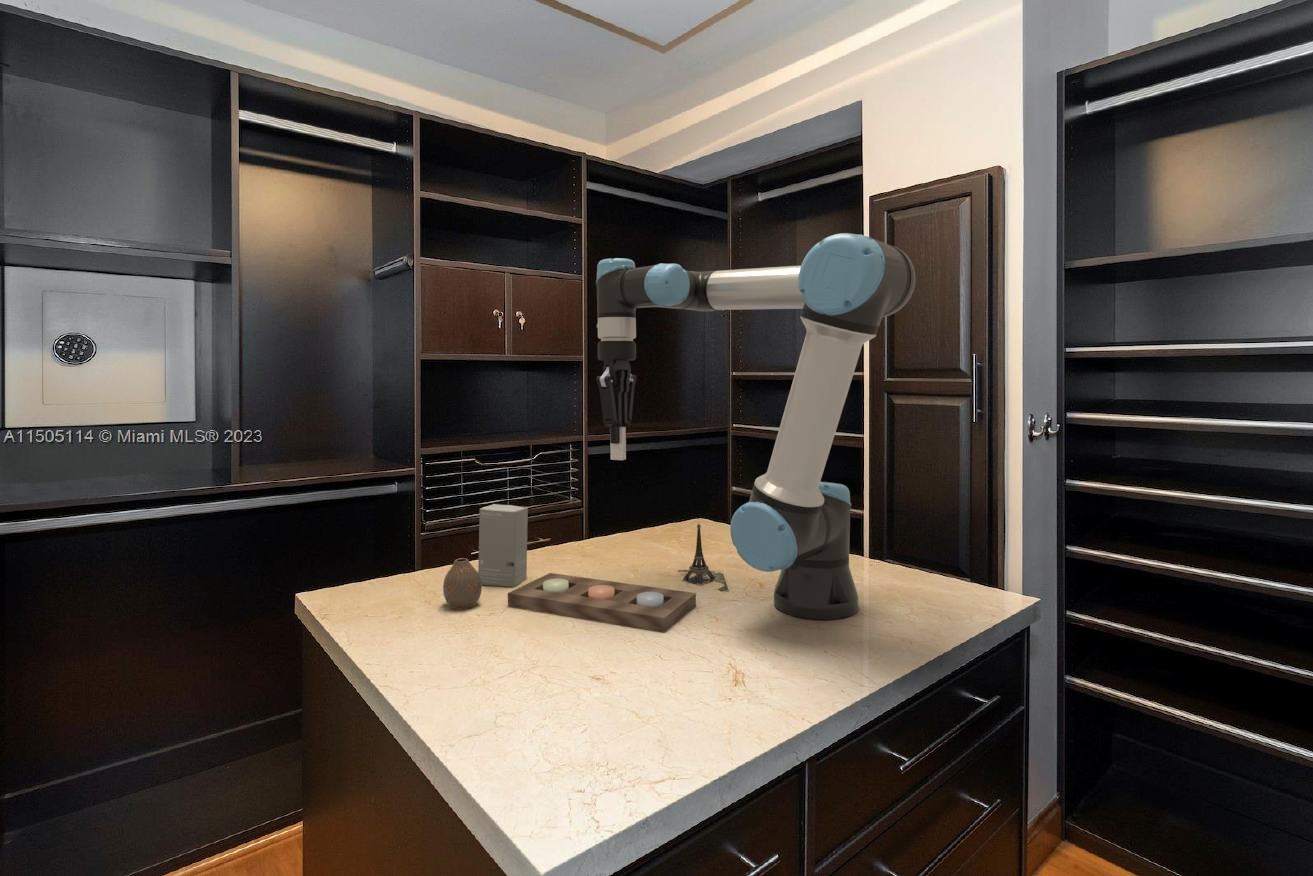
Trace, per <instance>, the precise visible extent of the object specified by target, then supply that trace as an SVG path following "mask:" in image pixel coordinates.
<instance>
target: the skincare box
mask: <svg viewBox="0 0 1313 876" xmlns="http://www.w3.org/2000/svg"><path fill="white" fill-rule="evenodd" d="M528 513H529V507H528V506H518V505H513V504H497V503H492V504H490V505H487V506H483V507H481V508H479V520H478V521H479V522H478V523H479V524H478V525H479V527H478V529H479V530H478V568H477V569H478V571H477V572H478V574H479V576H480V579H481V584H482V586H494V587H510V588H515V587H516V586H518V585H520V584H521V583H523V582H524V581H525V580H527V569H528V519H529V518H528V517H529V516H528Z"/></svg>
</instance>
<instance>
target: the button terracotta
mask: <svg viewBox="0 0 1313 876" xmlns="http://www.w3.org/2000/svg"><path fill="white" fill-rule="evenodd" d="M588 597H590V598H597V599H603V600H609V599H610V598H612V597H614V587H612V586H609V585H597V586H592V587H590V588H589V589H588Z"/></svg>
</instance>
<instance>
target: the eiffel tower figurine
mask: <svg viewBox="0 0 1313 876" xmlns="http://www.w3.org/2000/svg"><path fill="white" fill-rule="evenodd" d="M701 526H702V525H701V524H700V523H698V524H697V525H696V529H697V530H696V531H697V532H696V546H695V553H694V557H693V561H692V564H691V566H689V569H677V572H679V573H681V572H684V573H686V574H685V576H684V577H683V578H682V579H681V582H684V583H688V584H692V585H696V586H699V587H702V586H705V585H707V584H710V583H713V582H716V583H720V584H721V585H722V587H718V588H716V590H718V591H719V592H729V588H728V585H727V581H726V577H725V575H724V573H721V572H718V573H716V572H717V571H713V570H710V568H709V567H710V566H708V565H707V564H706V563H707V562H706V560H705V555H704V553H703V548H702V547H703V546H702V536H701V528H702V527H701ZM693 574H694V575H693ZM691 575H693V576H691ZM690 576H691V577H690Z"/></svg>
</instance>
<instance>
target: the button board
mask: <svg viewBox="0 0 1313 876" xmlns="http://www.w3.org/2000/svg"><path fill="white" fill-rule="evenodd" d="M550 579H565V580H568V586H569V589H567V590H565V591H563V592H561V593H557V592H551V591H544V590H543V582H544V581H546V580H550ZM597 585H609V586H612V587H614V597H612V598H610V599H609V600H603V599H597V598H590V597H588V589H589V588H590V587H592V586H597ZM643 592H658V593H661V594H663V596H664V604H663V605H661V606H660V607H659V608H656V607H650V606H643V605H637V595H638V594H640V593H643ZM507 607H509V608H510V607H511V608H518V609H522V610H528V611H533V612H534V611H535V612H539V613H545V614H553V615H558V616H565V617H571V618H575V619H581V620H582V619H583V620H588V621H593V622H600V623H607V624H613V625H618V626H624V627H631V628H635V629H641V630H642V629H643V630H647V631H654V632H660V633H666V632H667V631H668V630H669V629H670V628H672V627H673V626H674V625H676V624H677V623H679V621H680V620H682V619H683V618H684V617H685V616H686V615H687V614H688V613H690V612H691V611H693V609H695V608H696V607H697V592H691V591H684V590H677V589H671V588H662V587H656V586H655V587H654V586H648V585H641V584H633V583H625V582H619V581H612V580H605V579H603V580H602V579H599V578H597V579H596V578H591V577H583V576H577V575H569V574H568V575H567V574H562V573H560V574H559V573H554V572H549V573H547V574H544V575H542V576H541V577H539V578H536V579H534V580H532V581H530V582H528V583H526V584H523V585H521V586H520V587H518V588H515V589H513V590H511V591H509V592H507Z"/></svg>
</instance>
